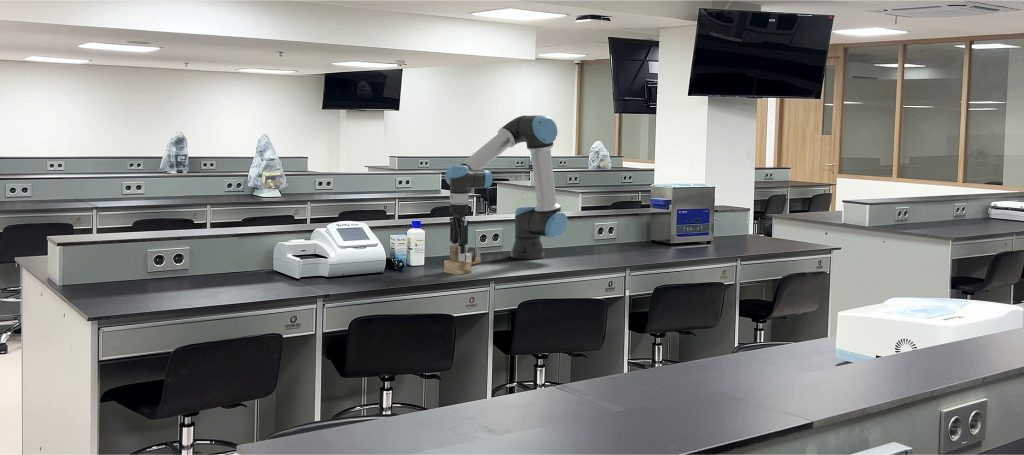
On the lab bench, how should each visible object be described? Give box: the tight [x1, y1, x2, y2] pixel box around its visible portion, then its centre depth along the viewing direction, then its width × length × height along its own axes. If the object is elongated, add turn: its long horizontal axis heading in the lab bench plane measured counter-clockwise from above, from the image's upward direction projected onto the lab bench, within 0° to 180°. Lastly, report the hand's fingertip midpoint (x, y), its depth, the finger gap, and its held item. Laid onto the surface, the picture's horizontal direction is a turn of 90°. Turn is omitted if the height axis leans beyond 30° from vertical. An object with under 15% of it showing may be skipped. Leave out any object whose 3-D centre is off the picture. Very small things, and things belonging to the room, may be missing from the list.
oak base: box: [443, 259, 473, 276], centre depth 381 cm, size 8×8×5 cm
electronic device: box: [466, 246, 482, 267], centre depth 403 cm, size 4×10×8 cm, turn 161°
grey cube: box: [466, 252, 472, 262], centre depth 393 cm, size 6×6×6 cm
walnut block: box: [449, 245, 467, 262], centre depth 381 cm, size 5×5×6 cm
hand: (458, 260), depth 381 cm, fingers closed on walnut block, 5 cm apart
